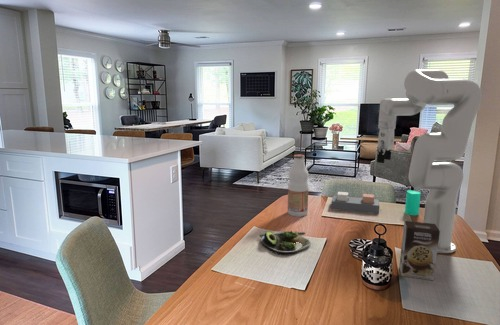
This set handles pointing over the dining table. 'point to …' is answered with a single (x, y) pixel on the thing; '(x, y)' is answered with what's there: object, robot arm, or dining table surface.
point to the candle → (412, 202)
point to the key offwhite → (342, 196)
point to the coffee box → (419, 250)
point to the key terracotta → (368, 198)
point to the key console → (355, 205)
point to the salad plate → (284, 242)
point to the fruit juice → (298, 188)
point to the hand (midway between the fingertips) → (383, 161)
